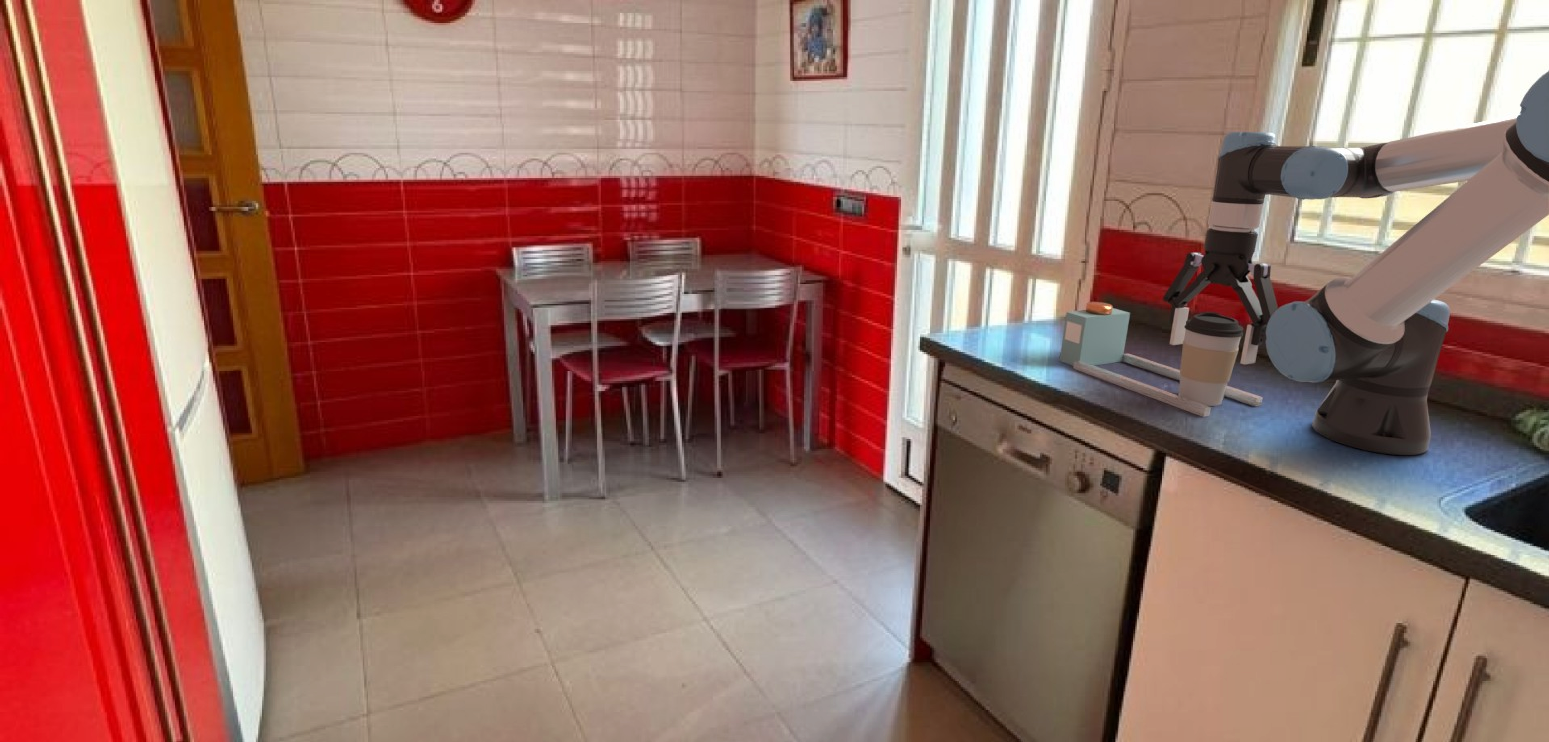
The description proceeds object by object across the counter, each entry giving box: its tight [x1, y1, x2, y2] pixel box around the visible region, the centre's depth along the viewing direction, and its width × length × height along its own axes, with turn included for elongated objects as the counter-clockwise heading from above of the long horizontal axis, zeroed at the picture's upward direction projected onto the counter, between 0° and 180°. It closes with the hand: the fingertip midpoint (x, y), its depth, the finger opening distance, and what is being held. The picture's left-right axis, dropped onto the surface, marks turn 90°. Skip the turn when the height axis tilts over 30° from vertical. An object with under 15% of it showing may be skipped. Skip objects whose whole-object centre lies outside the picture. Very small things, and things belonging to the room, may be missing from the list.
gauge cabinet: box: [1059, 307, 1131, 366], centre depth 167 cm, size 5×12×10 cm, turn 117°
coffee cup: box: [1177, 311, 1244, 407], centre depth 145 cm, size 9×9×15 cm
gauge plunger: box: [1085, 301, 1114, 315], centre depth 166 cm, size 5×5×6 cm
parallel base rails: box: [1072, 352, 1264, 418], centre depth 154 cm, size 28×15×2 cm, turn 27°
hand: (1210, 353), depth 144 cm, fingers open, 13 cm apart
